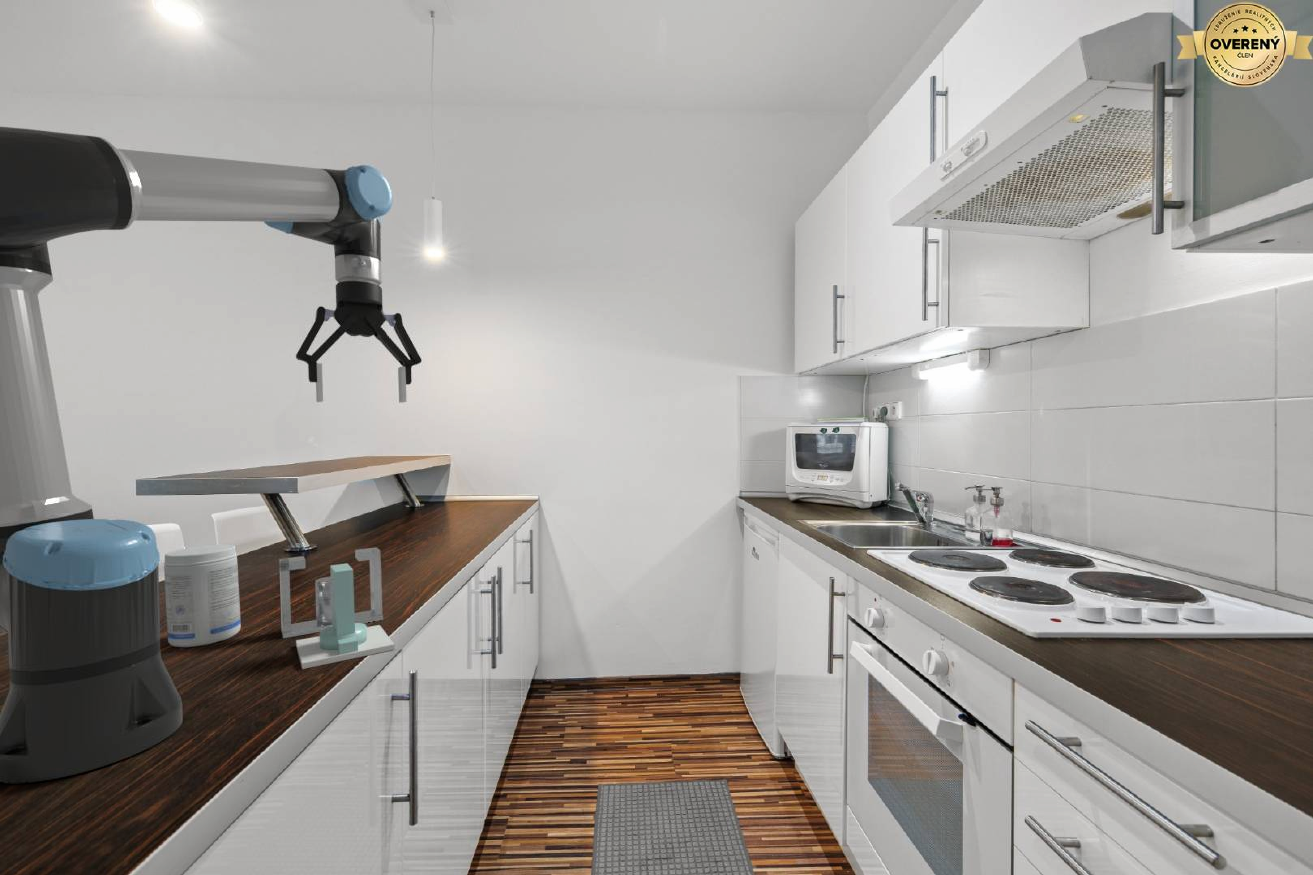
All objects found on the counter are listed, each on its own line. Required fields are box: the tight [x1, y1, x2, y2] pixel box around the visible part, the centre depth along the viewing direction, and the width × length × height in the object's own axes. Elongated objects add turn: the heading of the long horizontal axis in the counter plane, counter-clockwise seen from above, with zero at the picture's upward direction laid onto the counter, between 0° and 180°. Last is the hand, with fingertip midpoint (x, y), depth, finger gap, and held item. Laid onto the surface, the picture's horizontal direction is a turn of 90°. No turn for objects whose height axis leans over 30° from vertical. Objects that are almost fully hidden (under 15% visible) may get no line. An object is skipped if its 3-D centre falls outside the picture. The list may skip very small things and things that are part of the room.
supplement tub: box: [163, 544, 242, 648], centre depth 98 cm, size 10×10×15 cm
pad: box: [295, 624, 395, 670], centre depth 92 cm, size 12×12×1 cm
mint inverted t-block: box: [319, 562, 368, 654], centre depth 92 cm, size 11×6×12 cm, turn 35°
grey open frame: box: [278, 546, 384, 639], centre depth 103 cm, size 15×5×12 cm, turn 125°
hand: (362, 402), depth 108 cm, fingers open, 13 cm apart
